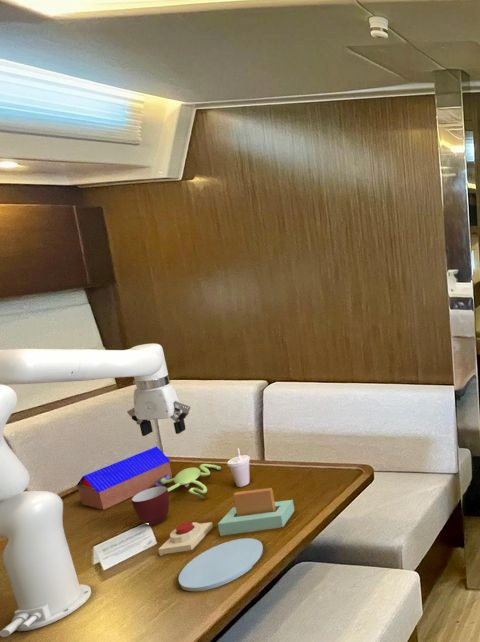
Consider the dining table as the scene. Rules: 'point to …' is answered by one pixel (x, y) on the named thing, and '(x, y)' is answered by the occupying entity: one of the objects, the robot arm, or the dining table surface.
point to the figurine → (188, 479)
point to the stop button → (184, 528)
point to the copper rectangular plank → (254, 502)
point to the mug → (152, 505)
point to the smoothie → (240, 469)
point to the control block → (185, 539)
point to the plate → (220, 564)
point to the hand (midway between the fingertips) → (164, 432)
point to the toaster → (256, 519)
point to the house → (123, 479)
